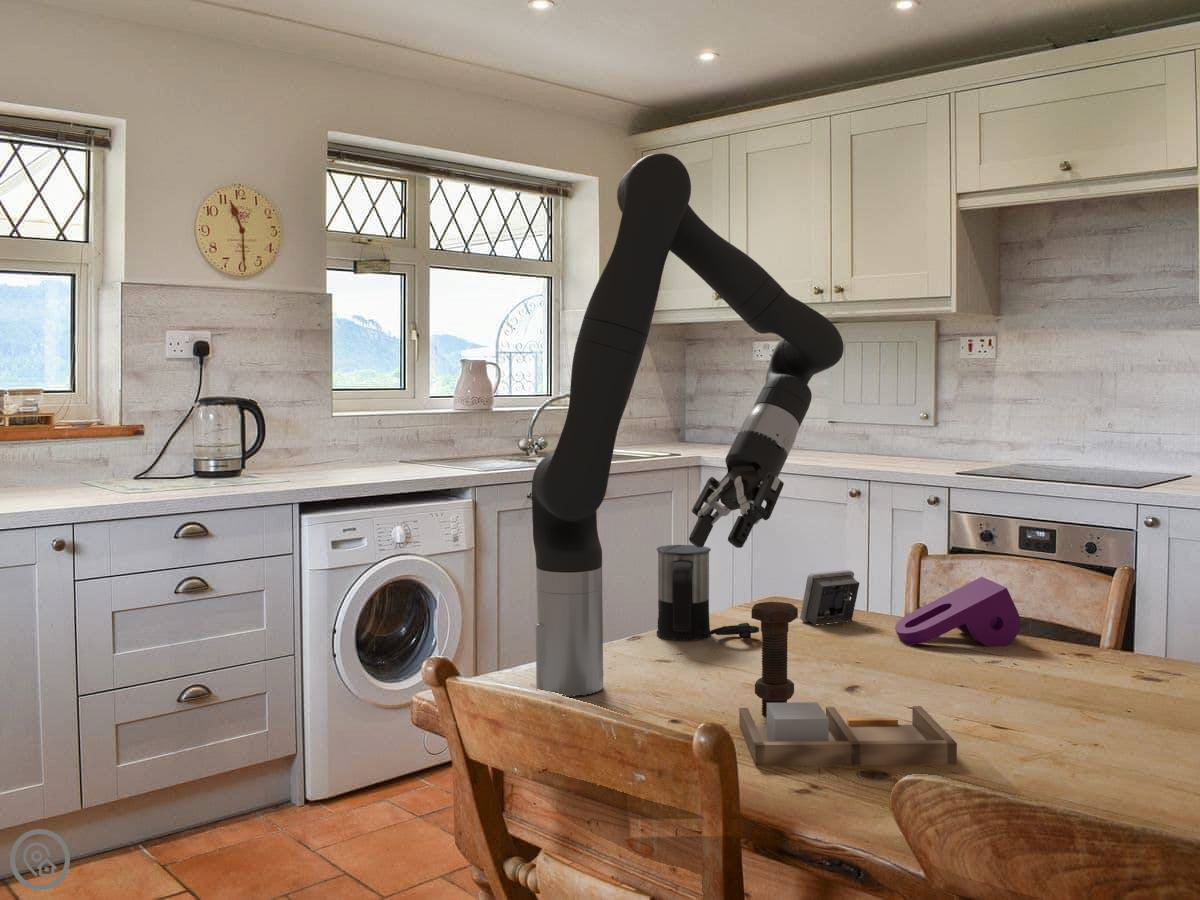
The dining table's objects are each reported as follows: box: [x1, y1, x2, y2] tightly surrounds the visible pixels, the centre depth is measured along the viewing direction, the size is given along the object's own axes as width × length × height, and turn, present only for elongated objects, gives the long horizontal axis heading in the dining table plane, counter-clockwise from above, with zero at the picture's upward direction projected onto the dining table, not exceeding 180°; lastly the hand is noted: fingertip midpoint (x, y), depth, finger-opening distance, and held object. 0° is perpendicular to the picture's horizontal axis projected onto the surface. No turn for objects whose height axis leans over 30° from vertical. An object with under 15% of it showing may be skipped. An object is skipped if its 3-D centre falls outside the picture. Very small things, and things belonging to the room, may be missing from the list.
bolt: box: [751, 601, 799, 718], centre depth 133 cm, size 6×5×15 cm
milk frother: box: [656, 544, 760, 641], centre depth 177 cm, size 14×16×15 cm
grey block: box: [766, 701, 829, 742], centre depth 123 cm, size 6×6×4 cm
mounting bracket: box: [894, 576, 1021, 647], centre depth 175 cm, size 10×8×18 cm
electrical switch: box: [799, 569, 860, 626], centre depth 187 cm, size 9×5×9 cm, turn 113°
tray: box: [738, 705, 958, 767], centre depth 123 cm, size 22×14×4 cm, turn 90°
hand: (714, 544), depth 141 cm, fingers open, 8 cm apart
